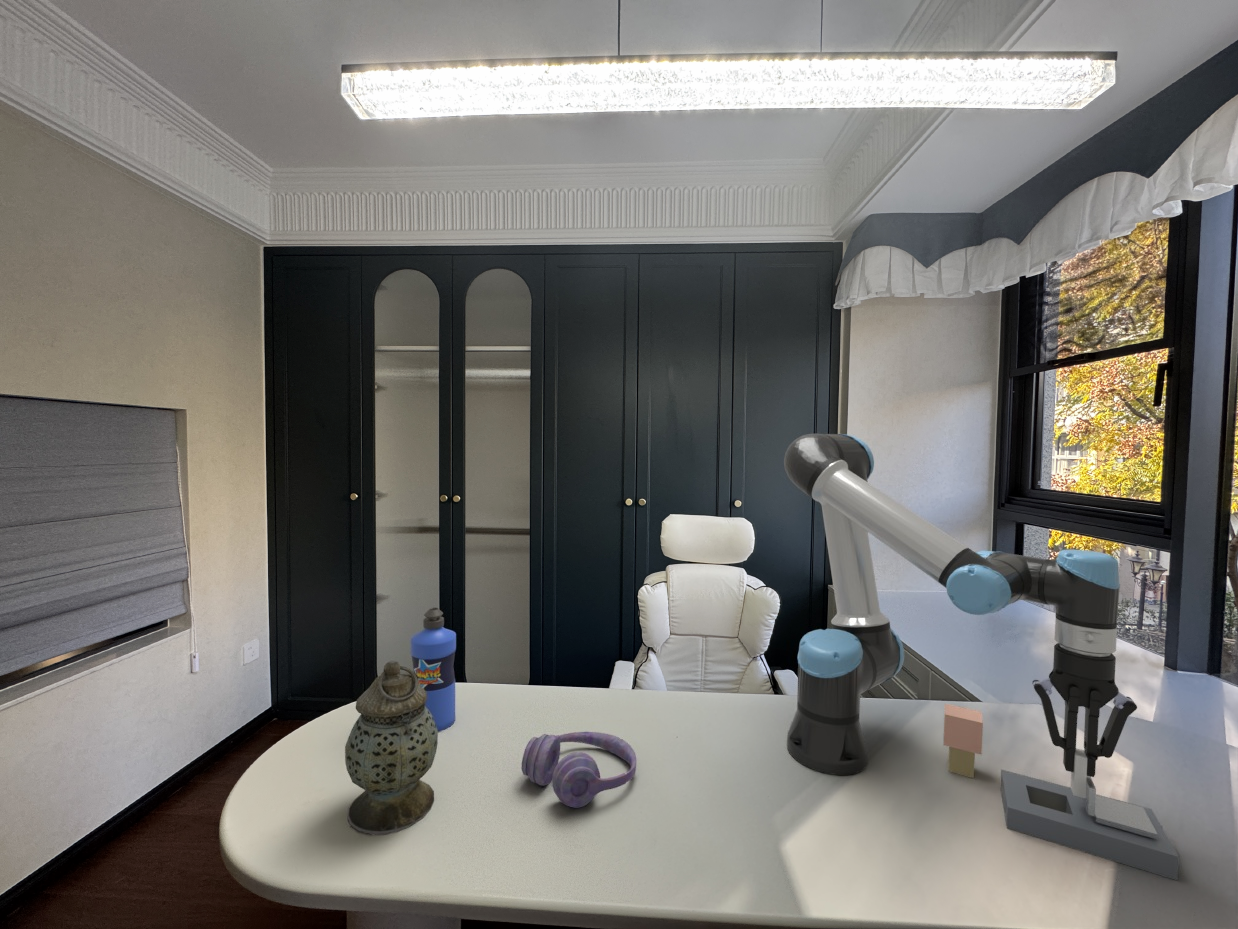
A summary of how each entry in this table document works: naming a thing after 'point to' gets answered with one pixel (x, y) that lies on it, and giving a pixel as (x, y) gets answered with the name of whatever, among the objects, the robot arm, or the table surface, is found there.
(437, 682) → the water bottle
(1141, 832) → the shutter
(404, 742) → the lantern
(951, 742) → the plug
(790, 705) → the table surface
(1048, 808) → the socket block
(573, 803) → the headphones
